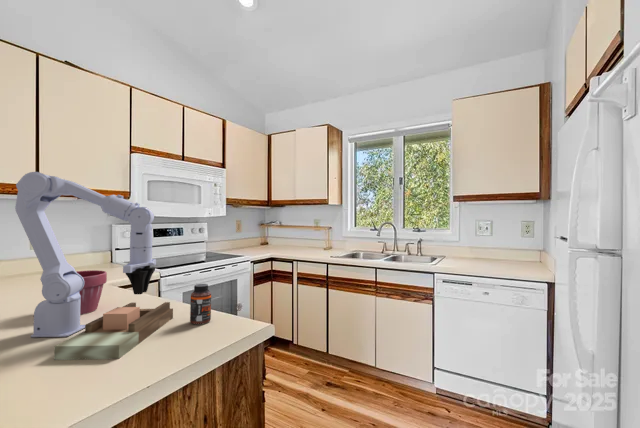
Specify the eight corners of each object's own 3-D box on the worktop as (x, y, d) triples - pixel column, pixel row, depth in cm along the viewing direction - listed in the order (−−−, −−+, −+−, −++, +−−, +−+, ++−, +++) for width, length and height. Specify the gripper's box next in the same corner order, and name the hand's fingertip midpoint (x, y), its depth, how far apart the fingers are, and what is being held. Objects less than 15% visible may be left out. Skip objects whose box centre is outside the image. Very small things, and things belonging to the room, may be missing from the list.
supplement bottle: (203, 326, 89) (204, 287, 89) (185, 324, 90) (186, 286, 90) (214, 319, 95) (215, 283, 95) (197, 318, 96) (198, 282, 96)
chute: (54, 359, 67) (54, 337, 67) (127, 318, 95) (127, 302, 95) (119, 358, 68) (119, 336, 68) (172, 317, 96) (173, 302, 96)
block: (102, 329, 78) (103, 314, 78) (117, 321, 84) (117, 307, 84) (126, 329, 78) (127, 313, 78) (139, 321, 84) (139, 307, 84)
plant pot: (77, 319, 94) (78, 278, 94) (40, 316, 96) (41, 276, 97) (116, 306, 108) (116, 270, 108) (82, 304, 110) (83, 269, 111)
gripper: (141, 249, 83) (141, 299, 83) (166, 245, 97) (165, 287, 97) (115, 249, 83) (114, 299, 82) (143, 245, 97) (142, 287, 97)
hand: (140, 293), depth 90 cm, fingers closed
